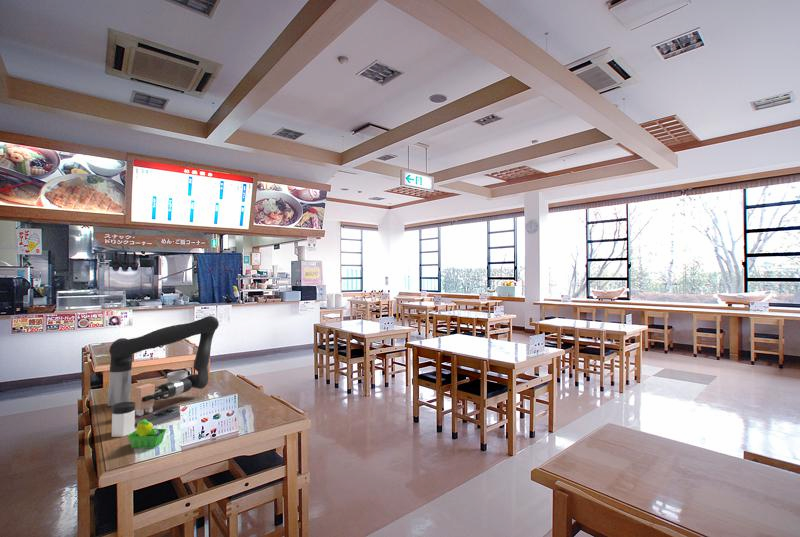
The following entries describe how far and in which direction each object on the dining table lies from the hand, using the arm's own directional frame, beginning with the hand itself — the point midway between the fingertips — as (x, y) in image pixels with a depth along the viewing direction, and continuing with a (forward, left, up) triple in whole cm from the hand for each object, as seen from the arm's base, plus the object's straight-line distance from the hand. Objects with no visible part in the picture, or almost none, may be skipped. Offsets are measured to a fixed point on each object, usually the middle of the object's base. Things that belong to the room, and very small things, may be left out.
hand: (139, 399), depth 187 cm
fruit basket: (+11, -37, -9) cm, 39 cm away
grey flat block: (+11, -6, -8) cm, 15 cm away
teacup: (+8, +53, -9) cm, 55 cm away
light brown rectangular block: (+2, +2, -8) cm, 8 cm away
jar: (-1, -20, -9) cm, 22 cm away
